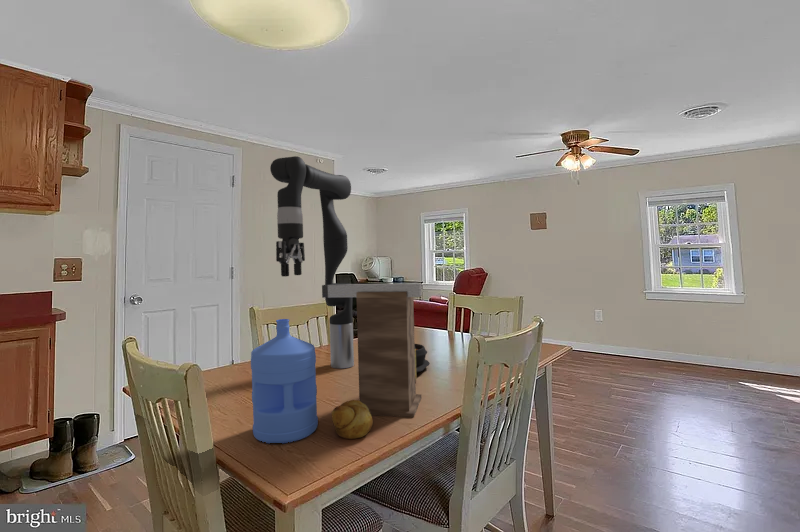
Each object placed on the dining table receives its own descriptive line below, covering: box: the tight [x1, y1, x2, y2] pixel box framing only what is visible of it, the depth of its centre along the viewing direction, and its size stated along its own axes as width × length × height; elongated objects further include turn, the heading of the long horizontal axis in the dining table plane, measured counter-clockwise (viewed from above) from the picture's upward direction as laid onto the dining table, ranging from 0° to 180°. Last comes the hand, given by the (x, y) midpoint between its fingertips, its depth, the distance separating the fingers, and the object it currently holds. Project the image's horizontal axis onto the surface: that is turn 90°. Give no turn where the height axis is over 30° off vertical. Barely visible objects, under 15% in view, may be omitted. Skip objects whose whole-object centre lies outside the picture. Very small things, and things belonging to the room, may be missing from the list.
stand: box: [356, 292, 422, 418], centre depth 116 cm, size 15×17×34 cm
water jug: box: [250, 318, 319, 444], centre depth 100 cm, size 16×16×28 cm
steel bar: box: [321, 282, 422, 299], centre depth 113 cm, size 4×28×4 cm, turn 79°
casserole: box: [414, 343, 430, 373], centre depth 154 cm, size 25×19×8 cm
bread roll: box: [331, 399, 374, 440], centre depth 100 cm, size 13×10×8 cm
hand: (291, 275), depth 123 cm, fingers open, 8 cm apart
